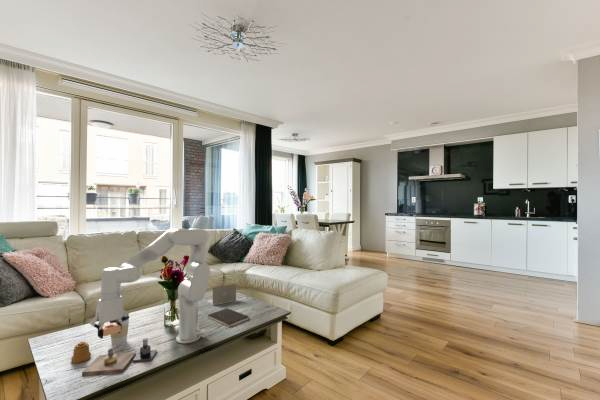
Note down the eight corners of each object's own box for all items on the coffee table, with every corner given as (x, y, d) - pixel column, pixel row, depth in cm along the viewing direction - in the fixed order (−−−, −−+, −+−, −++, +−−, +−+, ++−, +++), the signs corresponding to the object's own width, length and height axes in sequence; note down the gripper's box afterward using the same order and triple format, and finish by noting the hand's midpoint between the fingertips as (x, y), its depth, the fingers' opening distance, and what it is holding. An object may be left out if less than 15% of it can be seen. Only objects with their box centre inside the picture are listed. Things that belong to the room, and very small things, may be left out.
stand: (156, 352, 142) (157, 334, 142) (151, 360, 134) (151, 342, 134) (139, 353, 141) (139, 335, 141) (132, 362, 133) (132, 343, 133)
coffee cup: (106, 348, 146) (106, 318, 146) (112, 339, 155) (112, 312, 155) (126, 345, 149) (126, 316, 149) (131, 337, 157) (131, 310, 157)
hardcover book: (228, 328, 171) (228, 324, 171) (207, 318, 186) (207, 314, 186) (249, 319, 183) (249, 316, 183) (227, 311, 198) (227, 307, 198)
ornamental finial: (67, 362, 133) (84, 354, 140) (77, 365, 131) (94, 357, 138) (67, 344, 133) (84, 337, 140) (78, 347, 131) (94, 340, 138)
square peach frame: (114, 327, 135) (114, 322, 135) (120, 331, 131) (120, 326, 131) (98, 332, 130) (99, 326, 130) (104, 336, 126) (104, 330, 126)
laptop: (229, 296, 228) (229, 280, 228) (236, 300, 218) (236, 283, 218) (206, 301, 217) (207, 283, 217) (212, 305, 207) (212, 287, 207)
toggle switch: (135, 355, 139) (135, 340, 139) (122, 372, 125) (122, 355, 125) (99, 358, 137) (99, 342, 137) (81, 375, 123) (82, 358, 123)
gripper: (127, 289, 140) (126, 326, 140) (85, 298, 126) (83, 339, 126) (134, 292, 136) (133, 330, 135) (91, 301, 122) (90, 344, 122)
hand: (109, 334), depth 131 cm, fingers closed on square peach frame, 6 cm apart
